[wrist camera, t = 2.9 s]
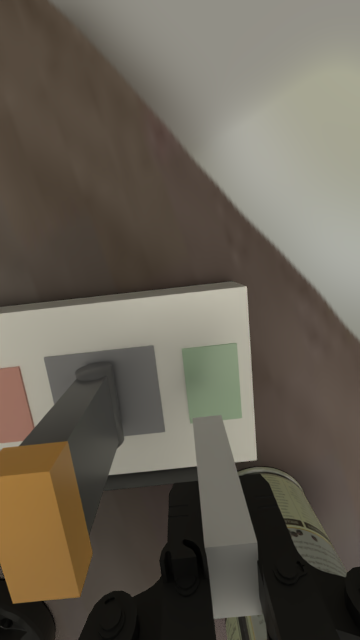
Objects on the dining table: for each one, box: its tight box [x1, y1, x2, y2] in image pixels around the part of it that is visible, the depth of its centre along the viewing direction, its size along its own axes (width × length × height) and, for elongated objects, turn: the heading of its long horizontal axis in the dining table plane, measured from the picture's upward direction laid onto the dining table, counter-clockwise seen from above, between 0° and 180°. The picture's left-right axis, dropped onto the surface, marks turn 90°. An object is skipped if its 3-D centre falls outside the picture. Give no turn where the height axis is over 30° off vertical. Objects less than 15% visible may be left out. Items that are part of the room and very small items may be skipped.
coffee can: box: [225, 467, 347, 640], centre depth 22 cm, size 10×10×14 cm
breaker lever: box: [0, 362, 124, 604], centre depth 15 cm, size 3×6×11 cm, turn 6°
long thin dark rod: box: [103, 466, 198, 491], centre depth 27 cm, size 18×3×2 cm, turn 96°
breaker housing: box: [0, 281, 257, 475], centre depth 23 cm, size 22×14×5 cm, turn 96°
